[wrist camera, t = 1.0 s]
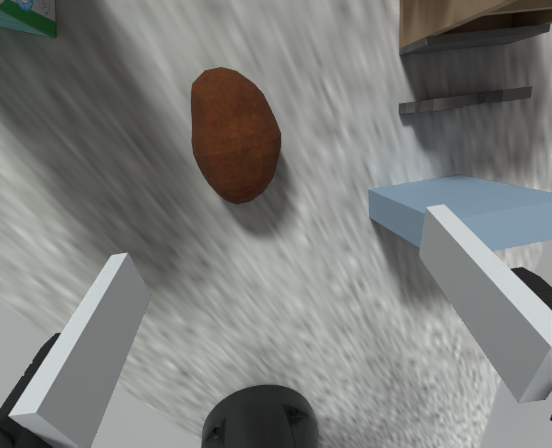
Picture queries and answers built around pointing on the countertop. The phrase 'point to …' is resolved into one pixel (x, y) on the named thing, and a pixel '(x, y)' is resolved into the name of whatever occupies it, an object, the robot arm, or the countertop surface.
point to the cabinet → (468, 36)
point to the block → (466, 209)
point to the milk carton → (29, 16)
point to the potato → (233, 134)
